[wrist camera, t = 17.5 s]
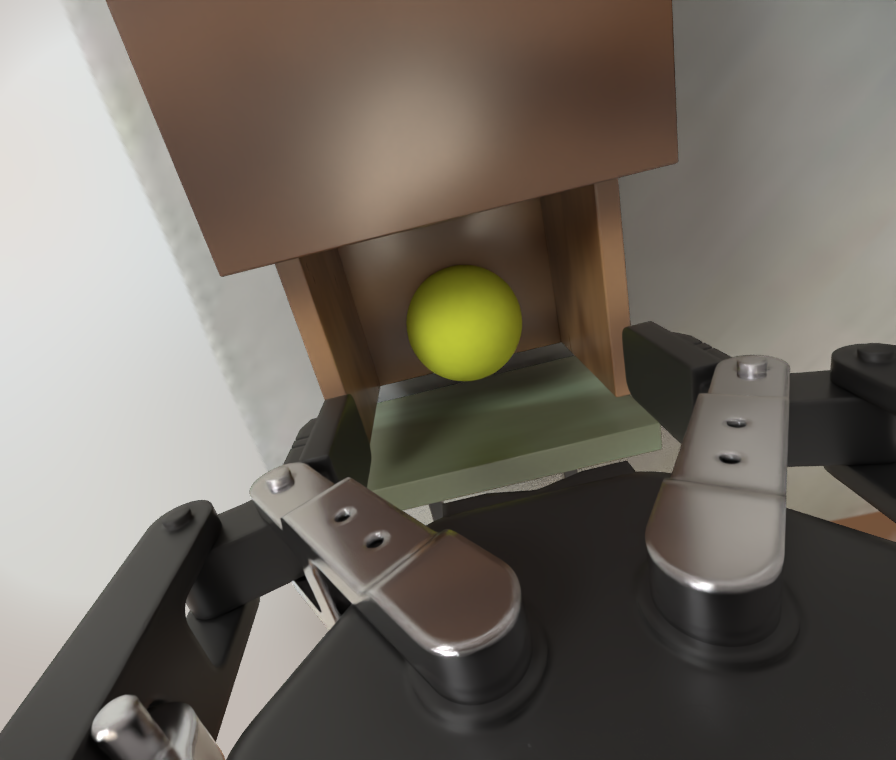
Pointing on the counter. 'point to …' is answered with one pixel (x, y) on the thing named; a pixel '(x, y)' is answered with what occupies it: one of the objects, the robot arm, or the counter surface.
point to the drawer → (494, 397)
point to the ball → (464, 323)
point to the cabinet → (394, 110)
